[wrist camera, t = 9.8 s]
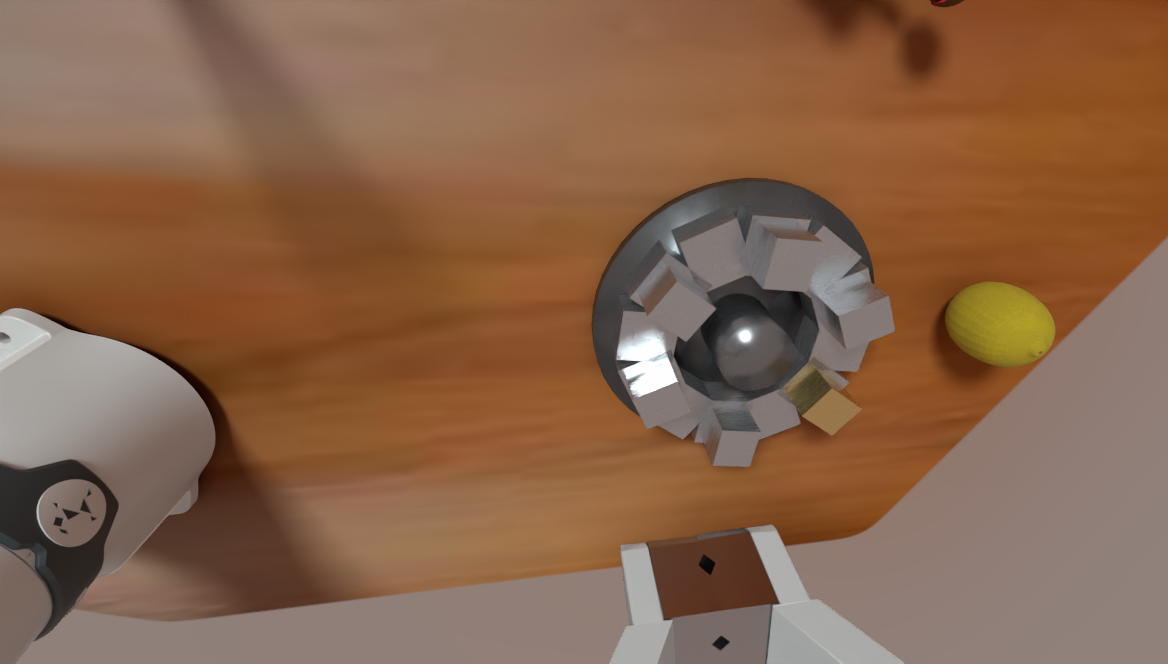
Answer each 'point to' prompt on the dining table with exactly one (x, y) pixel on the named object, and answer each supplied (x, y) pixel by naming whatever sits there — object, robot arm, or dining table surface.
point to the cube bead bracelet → (681, 305)
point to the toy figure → (945, 2)
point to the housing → (721, 290)
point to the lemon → (999, 324)
